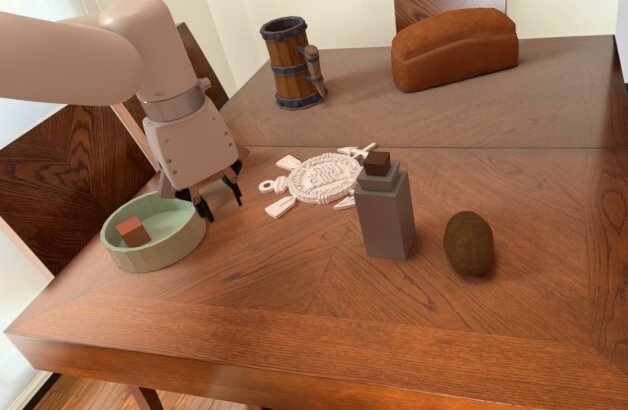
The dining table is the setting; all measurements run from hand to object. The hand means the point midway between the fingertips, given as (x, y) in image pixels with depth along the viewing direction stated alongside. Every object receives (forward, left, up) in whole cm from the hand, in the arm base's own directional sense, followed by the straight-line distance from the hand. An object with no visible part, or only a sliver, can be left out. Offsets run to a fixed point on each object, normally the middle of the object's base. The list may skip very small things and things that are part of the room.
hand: (222, 209), depth 75 cm
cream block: (0, 0, 0) cm, 0 cm away
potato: (+27, -24, -15) cm, 39 cm away
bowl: (-7, +24, -15) cm, 29 cm away
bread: (+77, +24, -15) cm, 82 cm away
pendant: (+25, +13, -15) cm, 32 cm away
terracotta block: (-11, +26, -15) cm, 32 cm away
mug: (+44, +47, -15) cm, 66 cm away
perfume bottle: (+21, -12, -15) cm, 29 cm away
